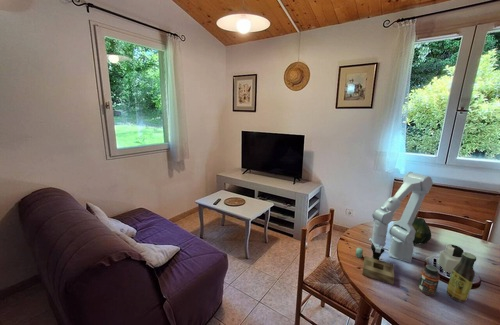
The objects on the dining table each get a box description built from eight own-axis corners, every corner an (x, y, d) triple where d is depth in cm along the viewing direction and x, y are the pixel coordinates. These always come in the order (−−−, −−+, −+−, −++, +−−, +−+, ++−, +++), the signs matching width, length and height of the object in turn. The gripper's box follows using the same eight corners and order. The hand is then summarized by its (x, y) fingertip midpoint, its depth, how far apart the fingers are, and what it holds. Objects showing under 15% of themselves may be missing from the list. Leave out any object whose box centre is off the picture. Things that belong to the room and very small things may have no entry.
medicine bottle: (455, 266, 108) (460, 244, 105) (463, 276, 102) (469, 253, 99) (437, 262, 110) (442, 241, 108) (444, 272, 104) (449, 249, 101)
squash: (392, 231, 129) (417, 218, 121) (397, 222, 140) (419, 210, 132) (412, 253, 124) (439, 241, 116) (414, 242, 135) (439, 231, 127)
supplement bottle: (420, 294, 91) (425, 270, 89) (415, 283, 97) (420, 261, 94) (438, 298, 89) (444, 274, 87) (432, 287, 95) (437, 264, 92)
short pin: (362, 255, 116) (363, 248, 115) (361, 258, 113) (362, 251, 112) (356, 253, 117) (356, 247, 116) (355, 256, 115) (356, 250, 114)
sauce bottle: (441, 291, 93) (452, 249, 88) (455, 290, 93) (466, 248, 89) (457, 304, 87) (469, 260, 82) (472, 303, 87) (484, 259, 83)
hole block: (392, 270, 105) (393, 264, 104) (393, 284, 96) (394, 277, 96) (363, 262, 111) (364, 256, 110) (362, 274, 102) (363, 268, 101)
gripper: (370, 224, 116) (367, 247, 119) (369, 238, 104) (366, 263, 107) (386, 228, 113) (382, 251, 116) (387, 242, 100) (383, 268, 104)
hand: (375, 257), depth 111 cm, fingers closed on long pin, 3 cm apart
